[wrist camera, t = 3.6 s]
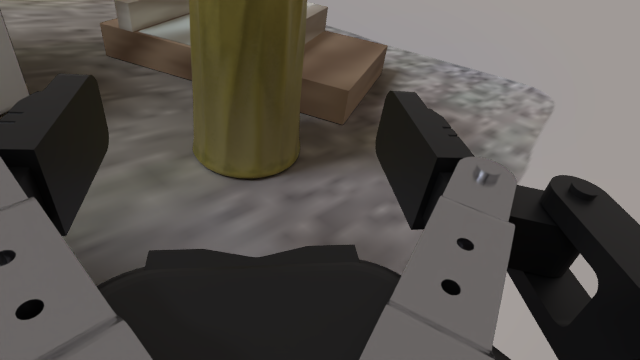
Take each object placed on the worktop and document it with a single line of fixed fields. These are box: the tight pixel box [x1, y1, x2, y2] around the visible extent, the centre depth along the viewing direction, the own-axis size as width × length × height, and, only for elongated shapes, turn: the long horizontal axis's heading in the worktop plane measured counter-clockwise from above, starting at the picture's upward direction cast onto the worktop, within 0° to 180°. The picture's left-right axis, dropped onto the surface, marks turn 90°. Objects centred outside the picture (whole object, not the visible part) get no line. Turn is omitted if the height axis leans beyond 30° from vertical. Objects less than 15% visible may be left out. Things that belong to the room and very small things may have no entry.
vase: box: [189, 0, 307, 178], centre depth 19 cm, size 6×6×14 cm
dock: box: [100, 0, 387, 125], centre depth 32 cm, size 20×11×4 cm, turn 69°
